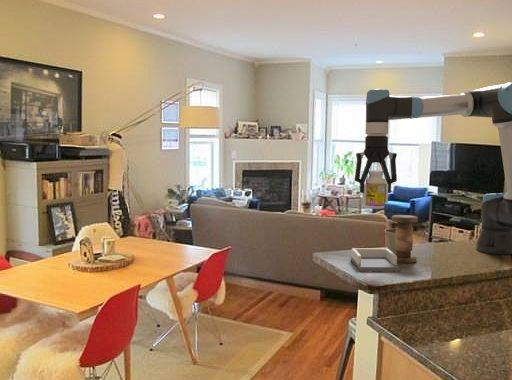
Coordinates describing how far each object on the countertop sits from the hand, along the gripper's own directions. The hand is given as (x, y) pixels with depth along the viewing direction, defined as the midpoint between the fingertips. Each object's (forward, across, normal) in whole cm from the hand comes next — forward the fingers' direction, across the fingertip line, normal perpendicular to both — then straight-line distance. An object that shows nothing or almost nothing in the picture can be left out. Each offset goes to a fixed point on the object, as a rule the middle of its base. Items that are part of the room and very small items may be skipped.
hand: (375, 202), depth 167 cm
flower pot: (+22, -14, -20) cm, 33 cm away
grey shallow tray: (+22, 0, +1) cm, 22 cm away
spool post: (+22, -12, -7) cm, 26 cm away
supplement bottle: (+2, 0, 0) cm, 2 cm away
